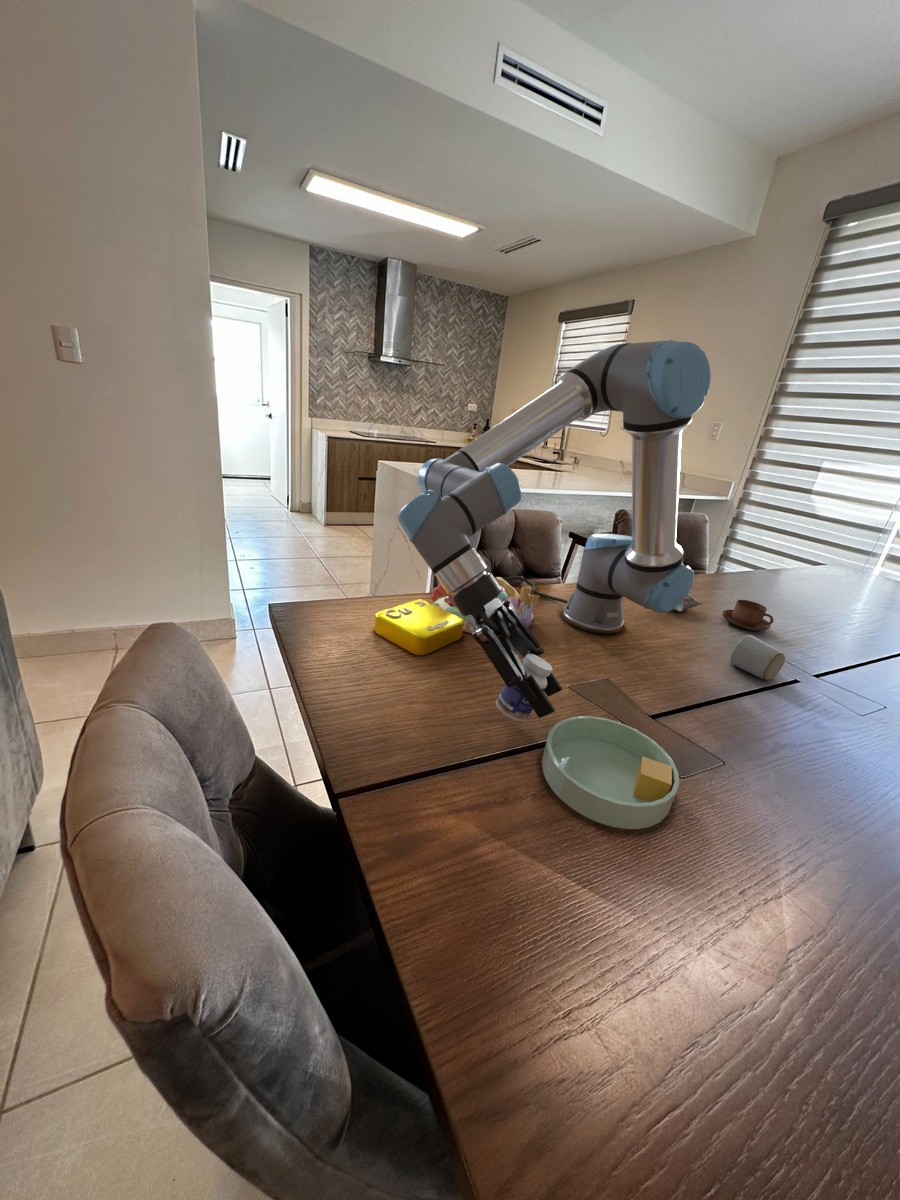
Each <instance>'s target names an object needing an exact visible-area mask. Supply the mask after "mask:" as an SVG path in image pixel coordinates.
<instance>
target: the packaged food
mask: <svg viewBox="0 0 900 1200" xmlns="http://www.w3.org/2000/svg"><path fill="white" fill-rule="evenodd" d="M701 605H703V601H701V600H698V599H696V597H694V596H693V595H691V592H689V593H688V594H687V596H686V597H685V599H684V600H683V601H682V602H681V603H680V604H679V605H678V606H677V607H676V608H674V609H673V610H672V611H675V612H678V613H681V612H682V611H685V610H689V609H691V608H695V607H697V606H701Z"/></svg>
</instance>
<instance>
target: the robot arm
mask: <svg viewBox="0 0 900 1200" xmlns="http://www.w3.org/2000/svg"><path fill="white" fill-rule="evenodd" d="M711 377H712V376H711V366H710V361H709V359H708V357H707V355H706V352H705V351H703V349H701V347H700V346H699V345H698V344H696V343H695V342H692V341H678V340H673V339H669V340H657V341H645V342H632V343H631V342H630V343H629V342H627V343H619V344H615V345H611V346H609V347H607V348H604V349H602V350H599V351H598V352H596V353H594V354H592V355H591V356H589V357H587V358H585V359H583V360H582V361H580V362H579V363H577V364H576V365H574V366H573V367H571V368H570V369H568V370H567V371H565V372H563V373H562V374H561V375H560V376H558V378H557V380H556V383H555V385H554V386H552V387H551V388H549V389H548V390H546V391H544V393H542V394H541V395H539V396H538V397H536V398H534V399H533V400H532V401H530V402H529V403H527V404H525V405H524V406H522V407H521V408H519V409H518V410H516V411H515V412H514V413H512V414H510V415H509V416H508V417H506V418H504V419H503V420H502V421H500V422H499V423H497V424H495V425H494V426H493V427H491V428H490V429H488V430H487V431H485V432H483V433H482V434H481V435H479V436H477V437H476V438H475V439H474V440H472V441H470V442H468V443H467V444H466V445H464V446H463V447H461V448H460V449H458V450H457V451H455V452H454V453H453V454H450V455H449V456H448V457H446V458H432V459H428V460H427V461H426V462H424V463H423V464H422V466H421V467H420V469H419V471H418V476H417V485H418V488H419V490H420V492H421V493H420V494H418V495H416V496H415V497H413V498H412V499H411V500H410V501H408V502H407V503H406V504H405V505H404V506H403V507H402V508H401V509H400V510H399V512H398V515H397V520H398V522H399V524H400V526H401V527H402V529H403V531H404V533H405V534H406V536H407V538H408V540H409V542H410V543H411V544H412V545H413V546H414V548H415V549H416V550H417V552H418V553H419V555H420V556H421V558H422V559H423V560H424V562H425V563H426V564H427V567H428V568H430V570H431V572H432V573H433V574H434V576H435V577H436V579H437V583H438V584H441V585H442V586H443V587H444V589H445V590H446V592H447V593H448V594H453V595H454V596H453V597H452V601H453V603H454V604H455V605H456V607H457V608H458V610H459V611H460V613H461V614H462V615H463V616H468V615H472V616H473V618H474V620H475V622H476V625H477V626H478V629H477V631H475V632H474V633H471V636H472V638H473V640H474V641H475V642H477V644H478V645H479V646H480V647H481V648H482V650H483V651H484V653H485V654H486V656H487V658H488V659H489V661H490V663H491V664H492V665H493V667H494V669H495V670H496V672H497V673H498V674H499V676H500V677H501V679H502V681H503V683H504V684H505V685H507V687H509V688H510V687H513V686H515V685H517V686H518V688H519V689H520V691H521V692H522V694H523V695H524V696H525V698H526V699H527V701H528V702H529V704H530V705H531V707H532V708H533V710H532V711H534V713H535V714H536V715H537V717H538V718H539V719H541V718H544V717H547V716H548V715H551V714H553V713H554V712H556V709H555V707H554V705H553V704H552V703H551V701H550V700H549V698H548V697H551V696H553V695H555V694H558V693H560V692H562V690H563V687H562V686H561V684H560V683H559V681H558V679H557V678H556V677H555V675H554V673H552V672H553V671H552V672H551V673H550V675H549V676H547V677H546V680H547V686H546V688H545V690H544V691H542V690H541V688H540V687H539V685H538V684H537V682H536V681H535V679H534V678H533V676H532V675H530V676H528V674H527V672H526V670H525V669H524V667H523V665H522V664H523V662H522V661H521V659H520V656H519V655H518V654H520V655H521V657H522V658H523V659H524V658H525V656H526V655H527V654H534V655H536V656H538V657H540V658H542V656H541V655H543V654H545V651H544V648H543V647H541V644H540V642H539V641H538V640H537V638H536V637H535V635H534V634H533V633H532V631H531V630H530V629H529V628H528V626H526V624H525V623H524V622H523V620H522V619H521V618H520V616H519V615H518V613H517V612H516V611H515V609H514V607H513V605H512V603H511V601H510V600H509V599H507V600H506V601H504V602H501V601H500V600H499V599H498V598H497V596H498V595H499V594H500V593H501V591H502V588H501V587H500V585H499V584H498V582H497V581H496V579H495V576H494V575H493V573H492V572H491V573H490V572H489V571H488V572H487V569H488V565H487V564H486V562H485V561H484V559H483V558H482V557H481V555H480V554H479V553H478V552H477V550H476V548H475V547H474V545H473V544H472V543H471V541H470V539H469V538H470V537H472V536H474V535H475V534H476V533H478V532H479V531H481V530H482V529H484V528H485V527H487V526H489V525H490V524H491V523H493V522H495V521H497V519H500V518H501V517H503V516H504V515H506V514H508V512H509V511H510V510H511V509H513V508H514V507H515V506H516V505H518V504H519V503H520V502H521V500H522V497H523V489H522V485H521V481H520V480H519V478H518V476H517V475H516V472H515V471H514V470H512V468H511V467H510V465H512V464H514V463H515V462H516V461H518V460H519V459H521V458H522V457H524V456H525V455H527V454H528V453H530V452H531V451H532V450H534V449H536V448H537V447H539V446H540V445H541V444H543V443H544V442H545V441H547V440H549V439H551V437H553V436H554V435H556V434H557V433H559V432H560V431H562V430H563V429H564V428H567V426H569V425H570V424H572V423H573V422H575V421H578V422H579V421H580V422H581V421H585V420H587V419H588V418H589V417H591V416H593V415H595V414H598V413H602V412H609V411H611V412H619V413H622V429H623V431H624V432H626V433H627V434H629V435H630V436H631V536H630V535H623V534H615V533H594V534H592V535H590V536H589V537H588V538H587V540H586V543H585V546H584V549H583V553H582V558H581V562H580V567H579V572H578V577H577V580H576V585H575V589H574V591H573V592H572V594H571V595H570V597H569V598H568V599H564V598H560V597H557V596H554V595H553V596H552V595H550V594H546V593H543V592H540V591H538V590H536V585H535V584H534V583H533V582H532V581H530V580H528V579H526V578H524V577H521V576H517V575H515V576H511V577H509V578H508V580H509V581H512V580H518V581H522V582H523V583H525V584H526V585H529V586H531V587H532V590H531V592H532V593H533V594H534V595H539V597H543V598H546V599H549V600H552V601H556V602H560V603H563V604H564V606H563V610H562V614H561V616H562V619H564V621H565V622H567V623H568V624H569V625H571V626H572V627H575V628H577V629H579V630H582V631H584V632H589V633H594V634H598V635H599V634H600V635H611V634H612V635H613V634H617V633H619V632H621V631H622V629H623V625H624V621H625V620H624V609H623V607H624V606H623V598H625V599H627V600H629V601H631V602H633V603H635V604H637V605H639V606H641V607H643V608H644V609H646V610H650V611H653V612H655V613H657V614H666V613H669V612H671V611H674V610H673V609H674V608H676V607H677V606H678V605H679V604H680V603H681V602H682V601H683V600H684V599H685V597H686V596H687V594H688V593H690V591H691V589H692V587H693V584H694V581H695V572H694V569H692V568H691V567H690V566H689V565H687V564H684V562H683V561H684V550H683V548H682V546H681V545H680V544H678V543H677V528H678V509H679V491H680V490H679V489H680V473H681V454H682V452H681V451H682V450H681V449H682V435H683V434H682V433H683V430H685V429H686V428H687V427H688V425H690V424H691V423H692V421H693V415H695V414H696V413H697V412H698V411H699V410H700V409H701V408H702V406H703V405H704V404H705V401H706V400H705V397H706V396H707V395H708V394H709V391H710V386H711Z"/></svg>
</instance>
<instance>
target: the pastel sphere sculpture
mask: <svg viewBox="0 0 900 1200" xmlns="http://www.w3.org/2000/svg"><path fill="white" fill-rule="evenodd" d="M494 578H495V579H496V581H497V582H498V584H499V585H500V587H501V588H502V591H501V593H500V594H499V595H498V596H497V598H498V599H499V600H500V601H501V602H504V601H506V600H507V599H509V600H510V601H511V603H512V605H513V607H514V609H515V611H516V612H517V613H518V615H519V616H520V618H521V619H522V620H523V622H524V623H525V624H526V626H527V627H528V629H529V627H530V626H531V624H532V621H533V620H534V617H535V615H534V614H533V608H534V607H535V605H536V603H537V602H538V600H539V598H540V596H539V595H537V594H531V592H532V586H530V585H529V584H524V585H522V587H521V590H520V593H519V592H518V591H517V590H516V588H515V587H513V586H512V585H510V584H509V583H508V581H507V580H505V579H504V578H502V577H501V576H496V577H495V576H494ZM443 596H444V597H443ZM453 596H454V595H453V594H452V593H451V594H448V593H447V592H446V590H445V589H444V587H443V586H442V585H441V584H439V583H438V584H437V586H435V587H434V588H433V590H432V594H431V595H430V600H431V604H432V605H434V606H437V607H439V608H441V609H443V610H445V611H447V612H450V613H452V614H454V615H456V616H458V617H460V618H462V619H463V620H464V625H463V632H464V633H469V634H472V633H474V632H475V631H477V629H478V626H477V625H476V622H475V620H474V618H473V616H472V615H468V616H463V615H462V614H461V613H460V611H459V610H458V608H457V607H456V605H455V604H454V603H453V601H452V597H453Z"/></svg>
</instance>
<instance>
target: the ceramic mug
mask: <svg viewBox="0 0 900 1200" xmlns="http://www.w3.org/2000/svg"><path fill="white" fill-rule="evenodd" d="M785 663H786V656H785V654H784V653H783V652H782V651H781V650H780V649H778V648H776V647H774V646H772V645H771V644H768V643H766V642H764V641H763V640H761V639H759V638H757V637H755V636H754V635H751V634H748V635H746V636H744V637H742V638H741V639H740V640H739V642H738V643H737V644H736V645H735V647H734V648H733V651H732V653H731V655H730V664H732V665H733V666H736V667H737V668H739V669H741V670H743V671H745V672H747V673H749V674H751V675H753V676H755V677H757V678H759V679H762V680H765V681H769V680H771V679H774V678H775V677H776V676H777V675H778V674H779V673H780V671H781V670H782V668H783V666H784V664H785Z"/></svg>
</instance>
